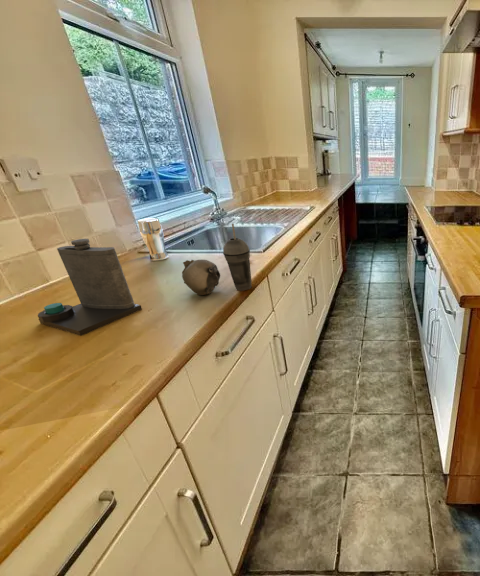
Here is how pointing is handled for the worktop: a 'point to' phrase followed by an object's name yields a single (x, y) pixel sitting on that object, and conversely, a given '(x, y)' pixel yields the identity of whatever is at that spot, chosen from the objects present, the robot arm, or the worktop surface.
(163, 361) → the worktop surface
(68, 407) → the worktop surface
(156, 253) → the chrome pepper mill
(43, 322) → the scale
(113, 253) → the flask
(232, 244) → the beverage cup
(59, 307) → the tare button
